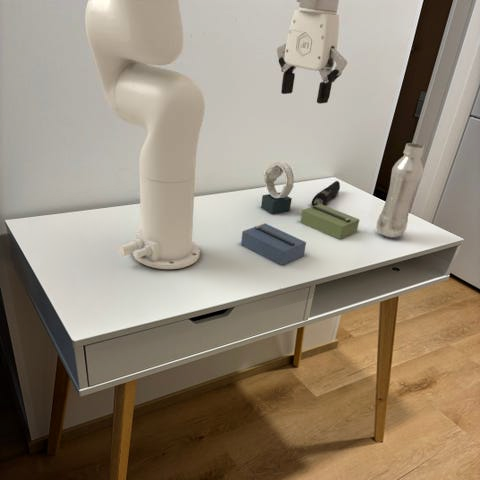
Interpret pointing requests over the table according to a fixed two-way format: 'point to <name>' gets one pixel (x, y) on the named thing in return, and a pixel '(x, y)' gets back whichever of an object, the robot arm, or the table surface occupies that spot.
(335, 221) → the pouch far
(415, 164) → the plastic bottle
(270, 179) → the watch
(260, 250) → the blue slotted block
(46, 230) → the table surface
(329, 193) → the electric trimmer
